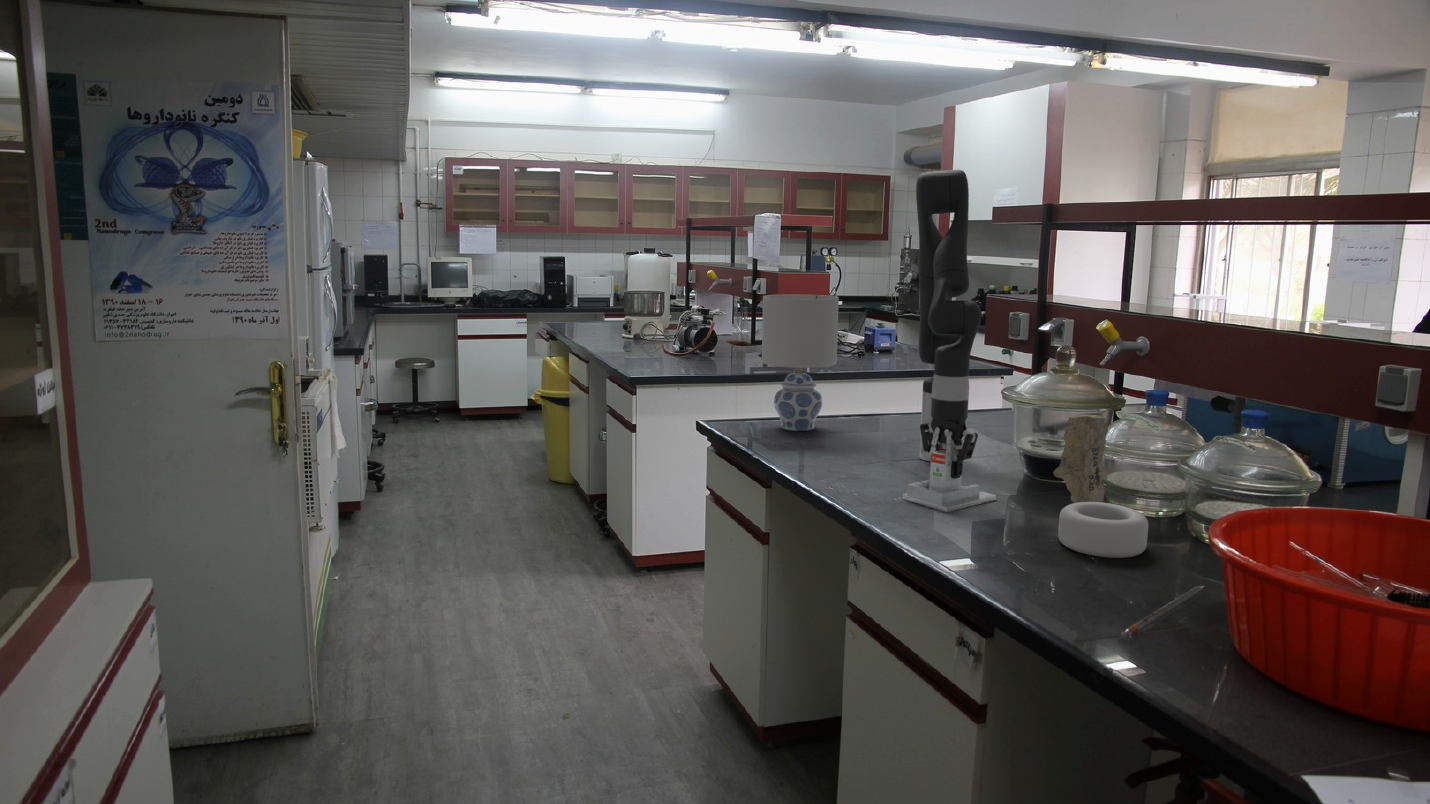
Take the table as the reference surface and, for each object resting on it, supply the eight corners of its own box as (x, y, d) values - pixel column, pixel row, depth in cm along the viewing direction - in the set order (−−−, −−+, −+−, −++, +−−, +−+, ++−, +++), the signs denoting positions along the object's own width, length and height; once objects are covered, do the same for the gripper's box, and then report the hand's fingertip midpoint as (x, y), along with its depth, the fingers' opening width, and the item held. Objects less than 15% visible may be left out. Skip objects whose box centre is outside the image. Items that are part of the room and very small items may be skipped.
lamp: (838, 436, 263) (843, 299, 256) (761, 435, 263) (764, 299, 256) (830, 421, 284) (834, 294, 277) (759, 420, 284) (761, 294, 278)
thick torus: (1139, 566, 162) (1142, 528, 160) (1049, 550, 169) (1051, 514, 168) (1151, 542, 174) (1154, 507, 173) (1067, 528, 182) (1069, 495, 181)
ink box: (927, 497, 198) (931, 430, 196) (946, 490, 204) (949, 424, 201) (943, 501, 196) (947, 432, 193) (961, 493, 201) (965, 427, 199)
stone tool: (1099, 503, 198) (1107, 410, 195) (1114, 511, 193) (1122, 416, 189) (1044, 505, 197) (1051, 411, 194) (1057, 513, 191) (1064, 416, 188)
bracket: (951, 487, 210) (952, 472, 210) (995, 499, 201) (996, 483, 200) (902, 498, 201) (903, 482, 200) (946, 512, 191) (947, 495, 191)
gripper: (989, 399, 193) (984, 480, 196) (935, 389, 204) (931, 466, 207) (966, 403, 188) (961, 485, 191) (911, 393, 199) (908, 471, 202)
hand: (945, 474), depth 199 cm, fingers open, 4 cm apart
